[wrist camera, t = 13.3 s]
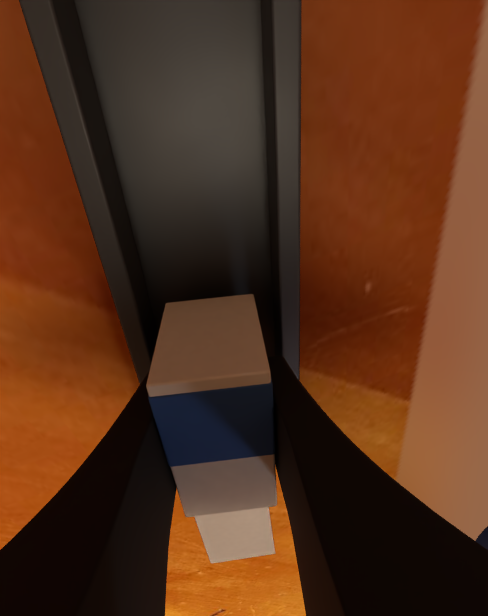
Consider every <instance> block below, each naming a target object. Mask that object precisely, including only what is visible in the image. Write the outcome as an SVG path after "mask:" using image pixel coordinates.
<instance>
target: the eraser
mask: <svg viewBox="0 0 488 616" xmlns="http://www.w3.org/2000/svg"><path fill="white" fill-rule="evenodd" d="M146 387H147V391H148V394H149V395H148V399H149V403H150V406H151V409H152V413H153V416H154V419H155V422H156V426H157V429H158V432H159V435H160V439H161V442H162V445H163V449H164V452H165V455H166V458H167V462H168V465H169V466H170V467H171V470H172V473H173V477H174V480H175V483H176V487H177V490H178V493H179V497H180V500H181V503H182V507H183V510H184V513H185V516H186V517H193V516H201V515H209V514H217V513H225V512H233V511H241V510H249V509H257V508H265V507H273V506H276V505H277V493H276V473H275V451H276V448H275V427H274V406H273V385H272V379H271V374H270V368H269V363H268V359H267V354H266V350H265V345H264V340H263V336H262V331H261V327H260V322H259V318H258V313H257V309H256V304H255V299H254V295H253V294H246V295H236V296H227V297H218V298H208V299H199V300H190V301H180V302H171V303H166V305H165V309H164V313H163V317H162V321H161V326H160V330H159V334H158V338H157V342H156V346H155V351H154V355H153V359H152V363H151V367H150V372H149V376H148V380H147V384H146Z"/></svg>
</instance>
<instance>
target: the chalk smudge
mask: <svg viewBox="0 0 488 616" xmlns="http://www.w3.org/2000/svg"><path fill="white" fill-rule="evenodd" d="M194 517H195V520H196V522H197V525H198V528H199V531H200V534H201V537H202V539H203V542H204V545H205V548H206V551H207V554H208V556H209V559H210V562H211V563H217V562H224V561H230V560H237V559H243V558H250V557H257V556H263V555H270V554H275V549H274V542H273V535H272V528H271V521H270V515H269V508H268V507H265V508H257V509H249V510H241V511H233V512H225V513H217V514H209V515H201V516H194Z"/></svg>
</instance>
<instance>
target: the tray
mask: <svg viewBox="0 0 488 616" xmlns="http://www.w3.org/2000/svg"><path fill="white" fill-rule="evenodd" d="M19 2H20V5H21V8H22V11H23V15H24V18H25V21H26V24H27V27H28V30H29V34H30V37H31V40H32V43H33V46H34V49H35V53H36V56H37V59H38V62H39V65H40V69H41V72H42V75H43V78H44V81H45V84H46V88H47V91H48V94H49V97H50V100H51V103H52V107H53V110H54V113H55V116H56V119H57V122H58V126H59V129H60V132H61V135H62V138H63V142H64V145H65V148H66V151H67V154H68V157H69V161H70V164H71V167H72V170H73V173H74V176H75V180H76V183H77V186H78V189H79V192H80V196H81V199H82V202H83V205H84V208H85V211H86V215H87V218H88V221H89V224H90V227H91V230H92V234H93V237H94V240H95V243H96V246H97V250H98V253H99V256H100V259H101V262H102V265H103V269H104V272H105V275H106V278H107V281H108V284H109V288H110V291H111V294H112V297H113V300H114V304H115V307H116V310H117V313H118V316H119V319H120V323H121V326H122V329H123V332H124V335H125V338H126V342H127V345H128V348H129V351H130V354H131V358H132V361H133V364H134V367H135V370H136V373H137V377H138V380H139V383H140V384H141V382H142V381H143V379H144V378H145V376H146V375H147V373H148V372H149V371H150V367H151V363H152V359H153V355H154V351H155V346H156V342H157V338H158V334H159V330H160V326H161V321H162V317H163V313H164V309H165V305H166V303H171V302H180V301H190V300H199V299H208V298H218V297H227V296H236V295H246V294H253V295H254V299H255V304H256V309H257V313H258V318H259V322H260V327H261V331H262V336H263V340H264V345H265V350H266V354H267V357H271V356H280V355H281V356H282V357H284V358H285V360H286V361H287V363H288V365H289V366H290V368H291V369H292V371H293V372H294V374H295V375H296V377H297V378H298V380H299V365H300V166H301V0H19Z"/></svg>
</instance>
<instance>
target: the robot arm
mask: <svg viewBox="0 0 488 616" xmlns="http://www.w3.org/2000/svg"><path fill="white" fill-rule="evenodd" d="M267 359H268V363H269V368H270V374H271V379H272V385H273V406H274V427H275V448H276V451H275V465H276V469H277V473H278V477H279V481H280V484H281V488H282V492H283V496H284V500H285V504H286V508H287V511H288V516H289V520H290V525H291V529H292V534H293V540H294V546H295V552H296V557H297V563H298V569H299V575H300V581H301V587H302V593H303V599H304V605H305V611H306V616H488V550H487V549H486V548H484V547H483V546H482V545H480V544H479V543H477V542H476V541H474V540H473V539H471V538H470V537H468V536H467V535H466V534H464V533H463V532H461V531H460V530H459V529H457V528H456V527H455V526H453V525H452V524H450V523H449V522H448V521H446V520H445V519H444V518H442V517H441V516H439V515H438V514H437V513H435V512H434V511H433V510H431V509H430V508H429V507H428V506H426V505H425V504H424V503H423V502H421V501H420V500H419V499H418V498H416V497H415V496H414V495H412V494H411V493H410V492H409V491H407V490H406V489H405V488H404V487H402V486H401V485H400V484H399V483H397V482H396V481H395V480H394V479H392V478H391V477H390V476H389V475H388V474H387V473H386V472H384V471H383V470H382V469H381V468H380V467H379V466H378V465H376V464H375V463H374V462H373V461H372V460H371V459H370V458H369V457H368V456H367V455H366V454H364V453H363V452H362V451H361V450H360V449H359V448H358V447H357V446H356V445H355V444H354V443H353V442H352V441H351V440H350V439H349V438H348V437H347V436H346V435H345V434H344V433H343V432H342V431H341V430H340V429H339V428H338V427H337V425H336V424H335V423H334V422H333V421H332V420H331V419H330V418H329V417H328V416H327V414H326V413H325V412H324V411H323V410H322V409H321V407H320V406H319V405H318V404H317V403H316V401H315V400H314V399H313V398H312V397H311V395H310V394H309V393H308V392H307V390H306V389H305V388H304V386H303V385H302V384H301V382H300V381H299V380H298V378H297V377H296V375H295V374H294V372H293V371H292V369H291V368H290V366H289V365H288V363H287V361H286V360H285V358H284V357H282V356H281V355H280V356H271V357H267ZM149 372H150V371H149ZM149 372H148V373H147V375H146V376H145V378H144V379H143V381H142V382H141V384H140V386H139V387H138V389H137V390H136V392H135V393H134V395H133V396H132V398H131V399H130V401H129V402H128V404H127V405H126V407H125V408H124V410H123V411H122V412H121V414H120V415H119V417H118V418H117V420H116V421H115V422H114V424H113V425H112V427H111V428H110V429H109V431H108V432H107V433H106V435H105V436H104V437H103V439H102V440H101V441H100V442H99V444H98V445H97V446H96V448H95V449H94V450H93V451H92V453H91V454H90V455H89V457H88V458H87V459H86V460H85V461H84V463H83V464H82V465H81V466H80V467H79V469H78V470H77V471H76V472H75V473H74V475H73V476H72V477H71V478H70V479H69V480H68V481H67V483H66V484H65V485H64V486H63V487H62V488H61V489H60V490H59V491H58V493H57V494H56V495H55V496H54V497H53V498H52V499H51V500H50V501H49V502H48V503H47V504H46V505H45V506H44V507H43V508H42V509H41V510H40V511H39V513H38V514H37V515H36V516H35V517H34V518H33V519H32V520H31V521H30V522H29V523H28V524H27V525H26V526H25V527H24V528H23V529H22V530H21V531H20V532H19V533H18V534H17V535H16V536H15V537H14V538H13V539H12V540H11V541H10V542H8V543H7V544H6V545H5V546H4V547H3V548H2V549H1V550H0V616H165V598H166V579H167V562H168V546H169V537H170V528H171V521H172V514H173V507H174V501H175V494H176V483H175V480H174V477H173V473H172V470H171V467H170V466H169V465H168V462H167V458H166V455H165V452H164V449H163V445H162V442H161V439H160V435H159V432H158V429H157V426H156V422H155V419H154V416H153V413H152V409H151V406H150V403H149V399H148V395H149V394H148V391H147V387H146V384H147V380H148V376H149Z"/></svg>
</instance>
